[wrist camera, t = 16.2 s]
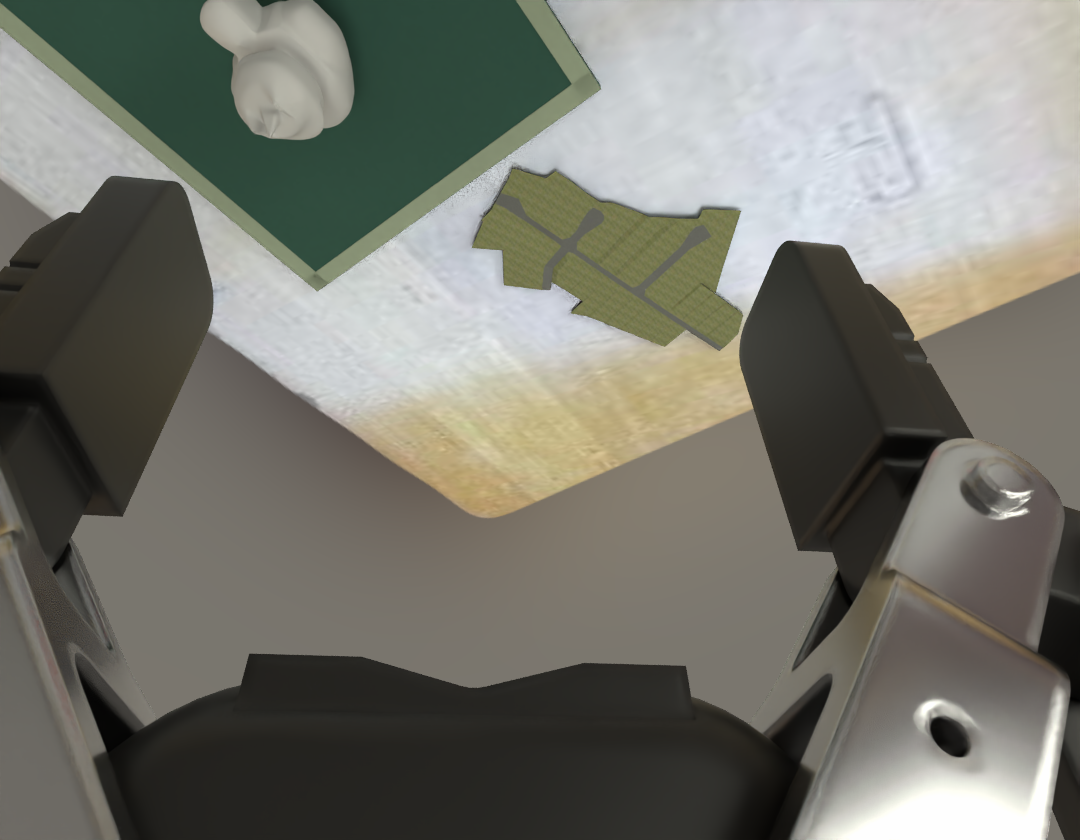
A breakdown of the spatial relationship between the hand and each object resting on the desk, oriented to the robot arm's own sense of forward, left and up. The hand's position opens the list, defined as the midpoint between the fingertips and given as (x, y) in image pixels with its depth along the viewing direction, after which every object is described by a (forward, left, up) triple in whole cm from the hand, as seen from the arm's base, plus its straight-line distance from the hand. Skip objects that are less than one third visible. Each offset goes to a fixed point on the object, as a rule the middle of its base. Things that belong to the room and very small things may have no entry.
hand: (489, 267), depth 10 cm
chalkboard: (+7, -9, -26) cm, 28 cm away
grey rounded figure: (+7, -9, -26) cm, 28 cm away
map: (+17, +9, -26) cm, 32 cm away
